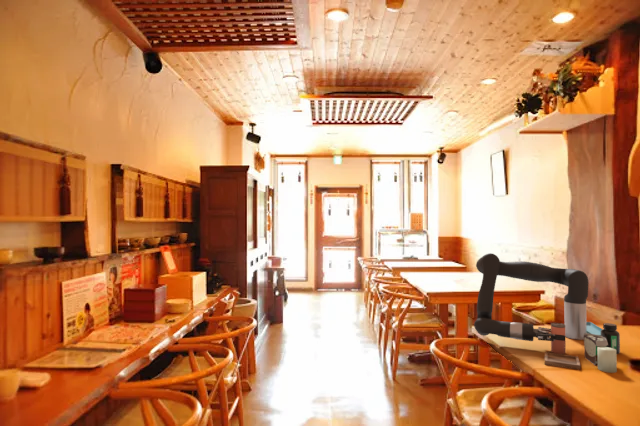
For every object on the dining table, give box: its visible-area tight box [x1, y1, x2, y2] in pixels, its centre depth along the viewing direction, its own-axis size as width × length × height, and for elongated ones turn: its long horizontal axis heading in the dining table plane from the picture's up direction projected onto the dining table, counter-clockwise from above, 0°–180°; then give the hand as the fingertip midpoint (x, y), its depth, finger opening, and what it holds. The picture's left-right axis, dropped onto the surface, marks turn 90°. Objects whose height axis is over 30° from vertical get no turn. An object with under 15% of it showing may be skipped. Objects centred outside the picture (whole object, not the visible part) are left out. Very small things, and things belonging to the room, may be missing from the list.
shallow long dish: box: [586, 321, 604, 336], centre depth 212 cm, size 26×9×2 cm, turn 167°
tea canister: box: [550, 322, 567, 355], centre depth 178 cm, size 6×6×12 cm
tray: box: [544, 351, 581, 371], centre depth 165 cm, size 12×12×2 cm
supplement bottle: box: [601, 322, 621, 355], centre depth 179 cm, size 7×7×12 cm
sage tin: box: [597, 347, 618, 374], centre depth 157 cm, size 6×6×8 cm
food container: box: [583, 333, 608, 367], centre depth 166 cm, size 12×6×10 cm, turn 168°
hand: (564, 336), depth 177 cm, fingers closed on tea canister, 5 cm apart
